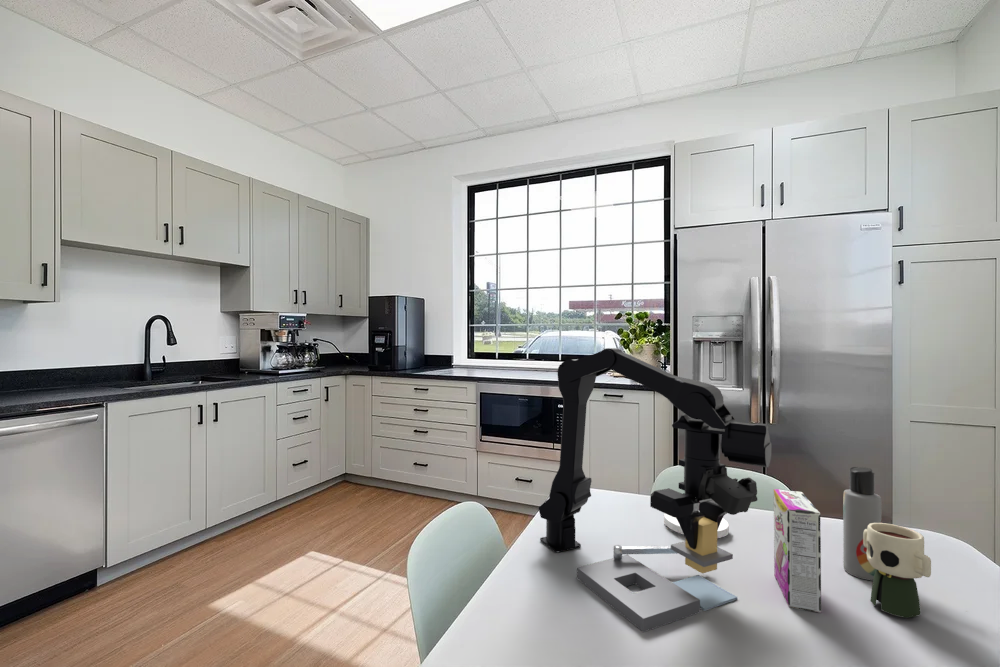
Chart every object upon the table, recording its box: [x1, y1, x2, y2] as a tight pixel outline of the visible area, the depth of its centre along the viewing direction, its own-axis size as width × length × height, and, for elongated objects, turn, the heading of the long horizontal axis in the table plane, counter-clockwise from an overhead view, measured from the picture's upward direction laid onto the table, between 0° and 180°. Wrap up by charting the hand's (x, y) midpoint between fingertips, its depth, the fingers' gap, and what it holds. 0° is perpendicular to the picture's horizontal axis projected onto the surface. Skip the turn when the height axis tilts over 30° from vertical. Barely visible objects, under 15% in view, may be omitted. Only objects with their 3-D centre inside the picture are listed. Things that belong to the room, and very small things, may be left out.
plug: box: [670, 517, 734, 574], centre depth 79 cm, size 7×7×8 cm
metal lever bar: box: [613, 544, 680, 561], centre depth 87 cm, size 18×2×2 cm, turn 94°
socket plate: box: [576, 554, 701, 633], centre depth 78 cm, size 17×12×2 cm
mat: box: [671, 574, 738, 612], centre depth 79 cm, size 8×8×1 cm
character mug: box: [863, 522, 932, 619], centre depth 75 cm, size 11×7×13 cm, turn 7°
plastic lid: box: [663, 513, 730, 539], centre depth 106 cm, size 14×14×2 cm
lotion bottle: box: [842, 466, 882, 581], centre depth 87 cm, size 6×6×20 cm
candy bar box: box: [773, 488, 822, 614], centre depth 79 cm, size 11×5×16 cm, turn 160°
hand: (700, 546), depth 79 cm, fingers closed on plug, 4 cm apart
